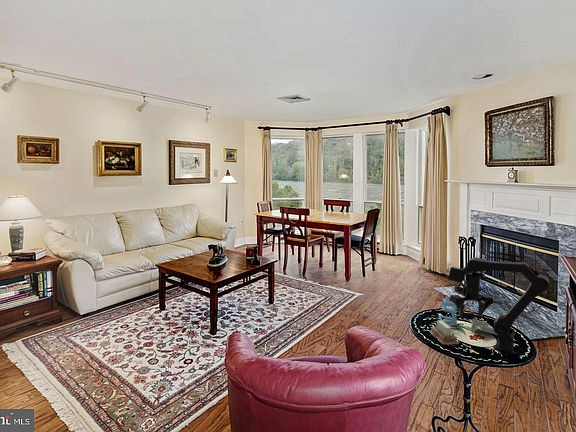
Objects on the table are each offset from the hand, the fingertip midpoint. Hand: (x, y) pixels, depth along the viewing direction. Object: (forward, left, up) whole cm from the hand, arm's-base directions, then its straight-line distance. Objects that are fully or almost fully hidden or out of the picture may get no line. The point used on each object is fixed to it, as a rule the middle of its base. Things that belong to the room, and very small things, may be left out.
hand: (469, 316), depth 162 cm
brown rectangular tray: (+3, +10, -12) cm, 16 cm away
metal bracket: (+9, -15, -13) cm, 21 cm away
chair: (+22, -3, -12) cm, 25 cm away
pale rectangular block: (+4, +10, -11) cm, 16 cm away
